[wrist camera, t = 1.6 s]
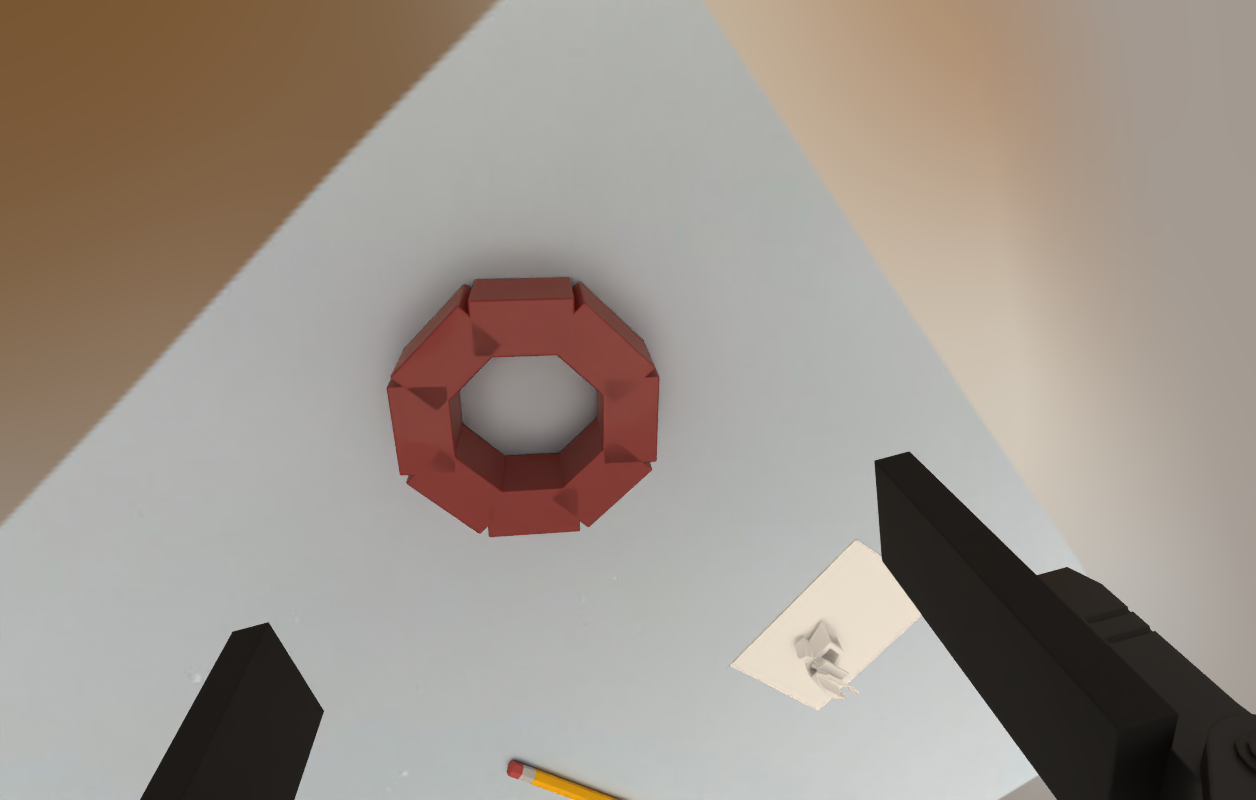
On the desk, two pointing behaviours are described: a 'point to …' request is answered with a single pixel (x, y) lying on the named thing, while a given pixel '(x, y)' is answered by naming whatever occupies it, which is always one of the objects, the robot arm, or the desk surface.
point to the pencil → (553, 783)
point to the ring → (538, 483)
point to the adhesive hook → (831, 630)
